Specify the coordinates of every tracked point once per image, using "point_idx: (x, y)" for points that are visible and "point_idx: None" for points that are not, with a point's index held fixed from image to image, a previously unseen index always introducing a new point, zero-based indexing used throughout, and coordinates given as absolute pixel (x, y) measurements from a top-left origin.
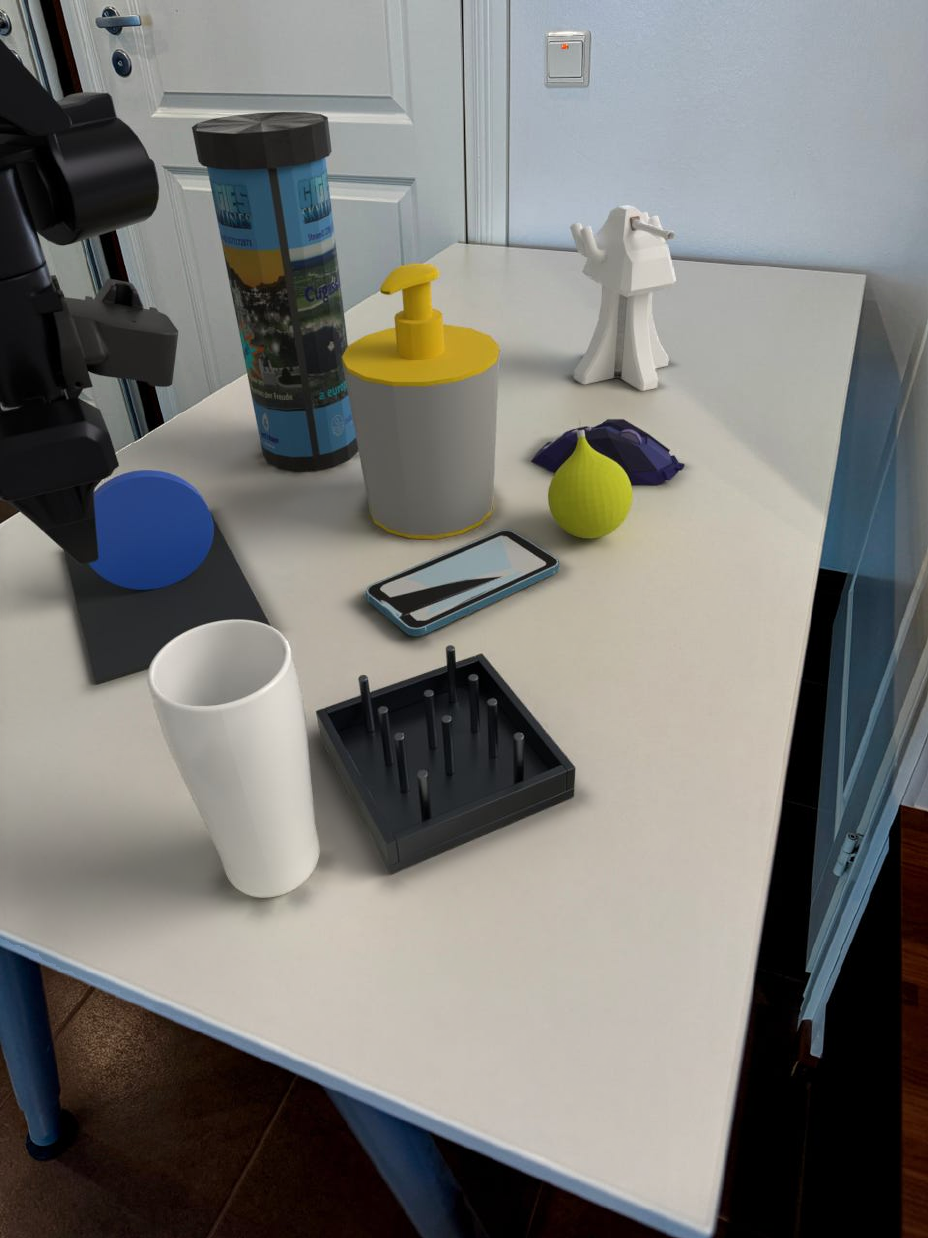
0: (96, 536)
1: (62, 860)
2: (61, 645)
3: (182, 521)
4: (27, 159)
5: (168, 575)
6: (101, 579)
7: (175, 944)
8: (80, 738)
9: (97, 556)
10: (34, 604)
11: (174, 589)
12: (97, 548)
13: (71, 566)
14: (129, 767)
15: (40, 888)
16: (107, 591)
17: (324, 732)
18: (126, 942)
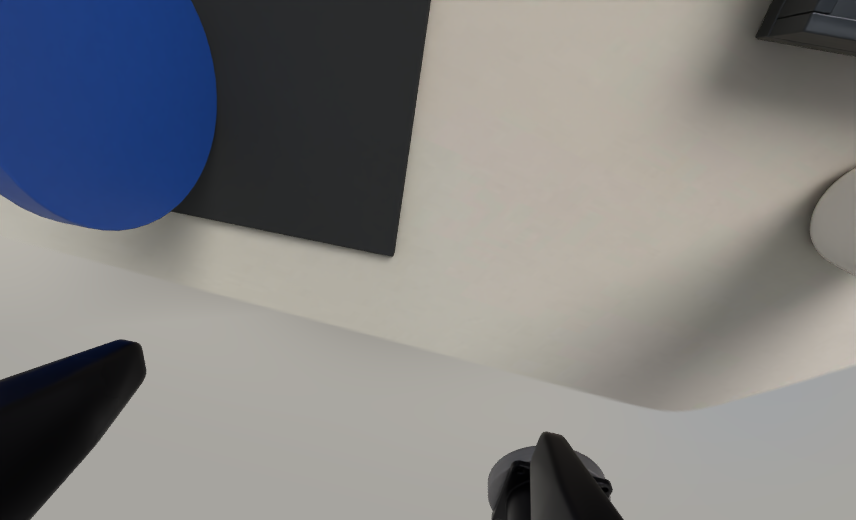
0: (620, 516)
1: (640, 366)
2: (286, 259)
3: (108, 2)
4: None
5: (202, 77)
6: None
7: (842, 330)
8: (479, 299)
9: (569, 445)
10: (175, 257)
11: (231, 77)
12: (586, 468)
13: None
14: (569, 276)
15: (656, 389)
16: None
17: (833, 41)
18: (790, 359)
